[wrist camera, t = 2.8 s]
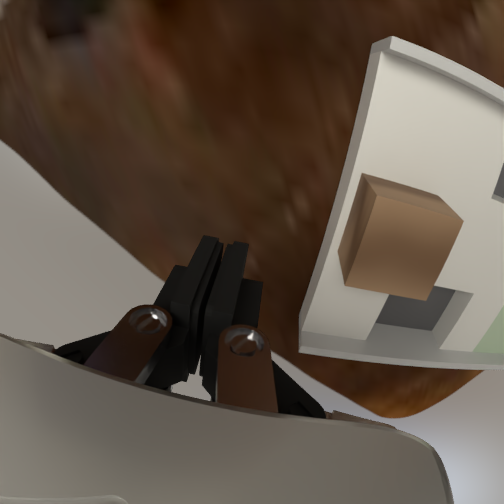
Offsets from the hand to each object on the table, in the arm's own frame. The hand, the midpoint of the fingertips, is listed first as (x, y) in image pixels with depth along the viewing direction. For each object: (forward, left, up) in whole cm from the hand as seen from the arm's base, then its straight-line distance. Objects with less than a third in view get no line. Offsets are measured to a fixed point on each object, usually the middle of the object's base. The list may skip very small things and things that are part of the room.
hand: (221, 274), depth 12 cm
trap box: (-1, +16, -10) cm, 19 cm away
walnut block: (-1, +8, -7) cm, 11 cm away
